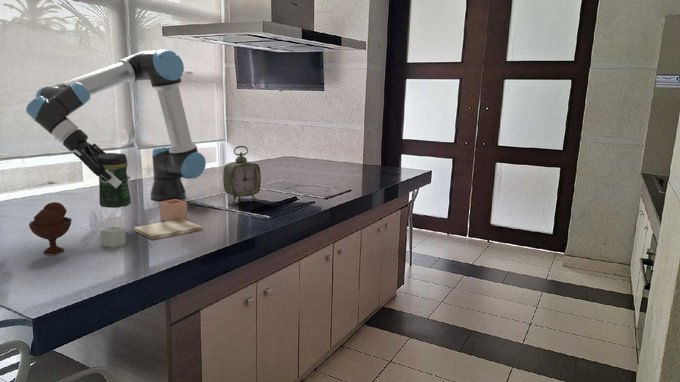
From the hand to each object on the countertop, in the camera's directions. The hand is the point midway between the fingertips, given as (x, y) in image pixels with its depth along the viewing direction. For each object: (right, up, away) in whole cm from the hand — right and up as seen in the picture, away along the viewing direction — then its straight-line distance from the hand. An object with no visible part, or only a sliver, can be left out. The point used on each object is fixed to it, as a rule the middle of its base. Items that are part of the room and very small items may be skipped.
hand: (123, 182), depth 170 cm
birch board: (+15, -17, +2) cm, 22 cm away
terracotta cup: (+12, -14, +16) cm, 24 cm away
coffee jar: (-3, -8, +2) cm, 9 cm away
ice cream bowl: (-11, -21, -23) cm, 33 cm away
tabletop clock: (+32, -8, +47) cm, 57 cm away
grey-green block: (+3, -20, -15) cm, 25 cm away
